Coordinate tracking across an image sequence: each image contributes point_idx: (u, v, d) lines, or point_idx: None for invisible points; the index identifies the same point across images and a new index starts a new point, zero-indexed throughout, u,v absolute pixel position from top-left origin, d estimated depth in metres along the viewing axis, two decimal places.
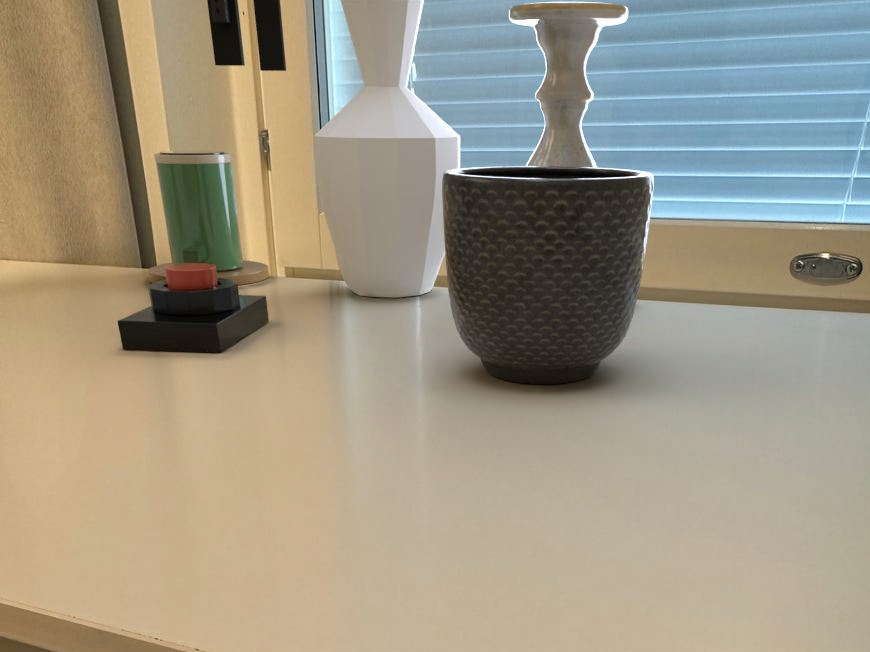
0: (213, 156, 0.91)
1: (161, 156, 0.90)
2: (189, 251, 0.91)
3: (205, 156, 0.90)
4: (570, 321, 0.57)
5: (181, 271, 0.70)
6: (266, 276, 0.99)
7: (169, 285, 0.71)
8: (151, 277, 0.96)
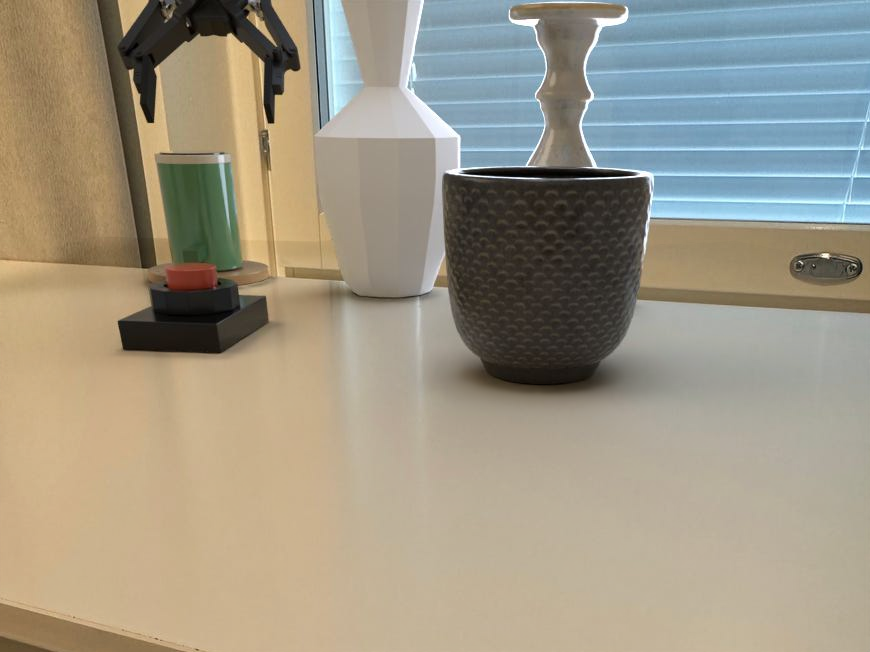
0: (213, 156, 0.91)
1: (161, 156, 0.90)
2: (189, 251, 0.91)
3: (205, 156, 0.90)
4: (570, 321, 0.57)
5: (181, 271, 0.70)
6: (266, 276, 0.99)
7: (169, 285, 0.71)
8: (151, 277, 0.96)
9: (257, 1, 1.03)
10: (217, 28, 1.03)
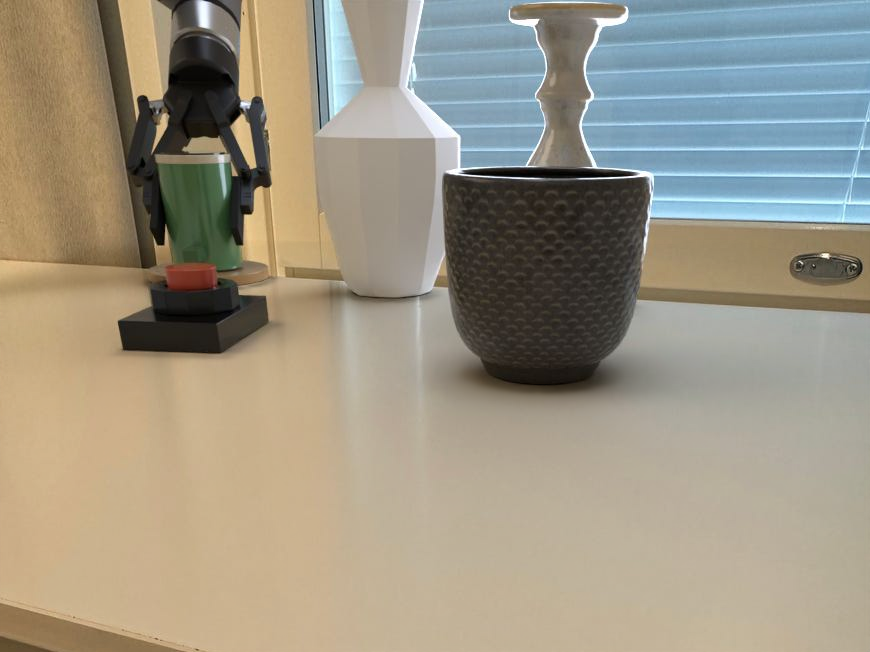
0: (213, 156, 0.91)
1: (161, 156, 0.90)
2: (189, 251, 0.91)
3: (205, 156, 0.90)
4: (570, 321, 0.57)
5: (181, 271, 0.70)
6: (266, 276, 0.99)
7: (169, 285, 0.71)
8: (151, 277, 0.96)
9: (246, 107, 0.97)
10: (208, 130, 0.97)
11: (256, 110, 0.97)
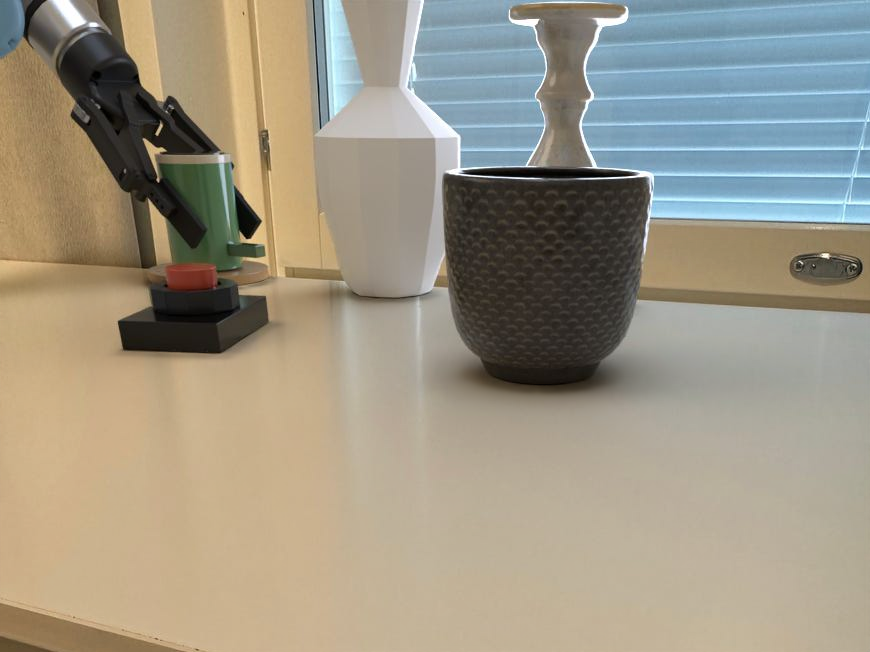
0: None
1: (197, 157, 0.90)
2: (259, 246, 0.94)
3: (229, 155, 0.93)
4: (570, 321, 0.57)
5: (181, 271, 0.70)
6: (266, 276, 0.99)
7: (169, 285, 0.71)
8: (151, 277, 0.96)
9: (171, 107, 0.97)
10: (149, 131, 0.95)
11: (180, 109, 0.98)
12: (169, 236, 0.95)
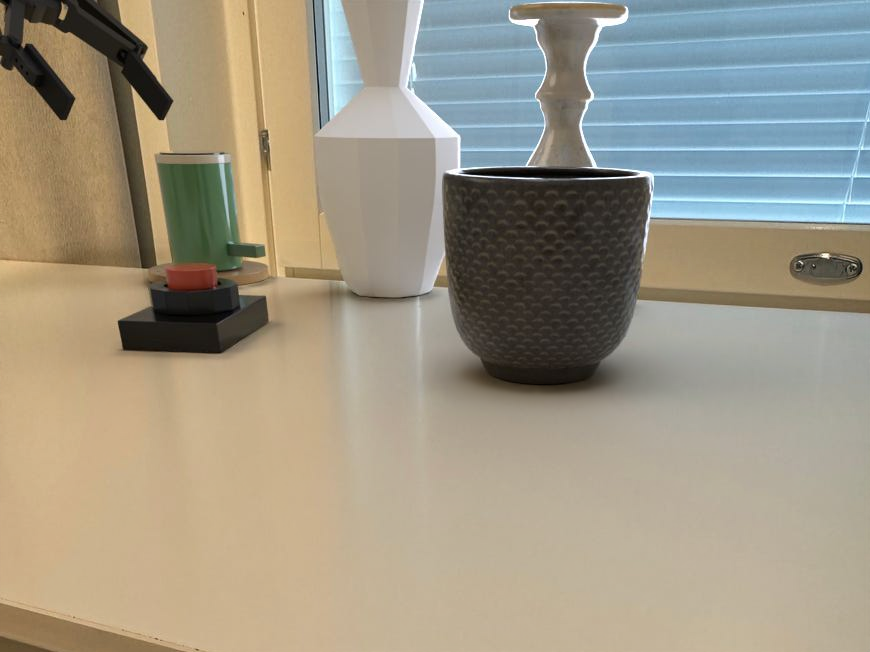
0: None
1: (197, 157, 0.90)
2: (259, 246, 0.94)
3: (229, 155, 0.93)
4: (570, 321, 0.57)
5: (181, 271, 0.70)
6: (266, 276, 0.99)
7: (169, 285, 0.71)
8: (151, 277, 0.96)
9: None
10: (49, 15, 0.93)
11: None
12: (169, 236, 0.95)
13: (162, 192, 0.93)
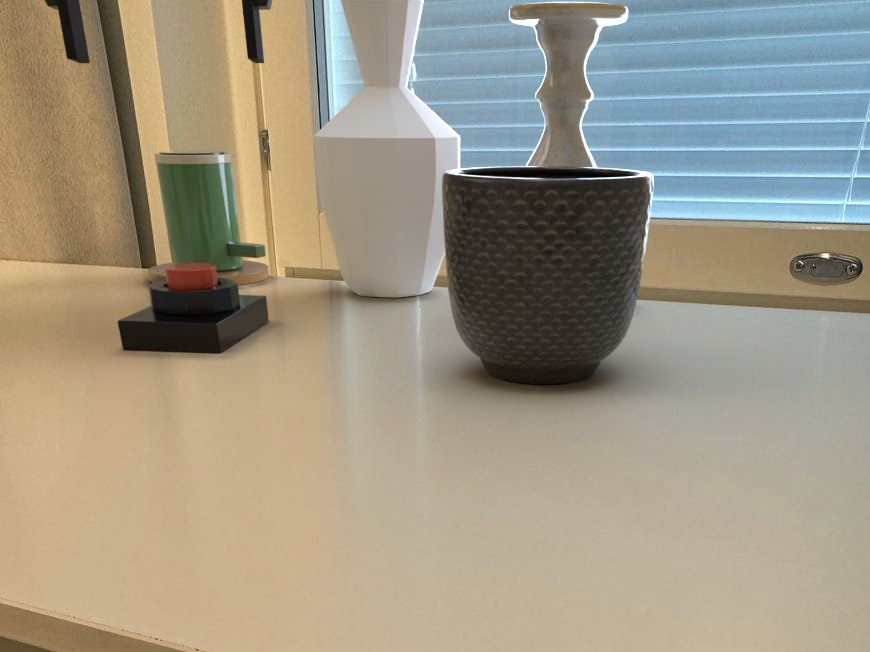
0: None
1: (197, 157, 0.90)
2: (259, 246, 0.94)
3: (229, 155, 0.93)
4: (570, 321, 0.57)
5: (181, 271, 0.70)
6: (266, 276, 0.99)
7: (169, 285, 0.71)
8: (151, 277, 0.96)
9: None
10: None
11: None
12: (169, 236, 0.95)
13: (162, 192, 0.93)
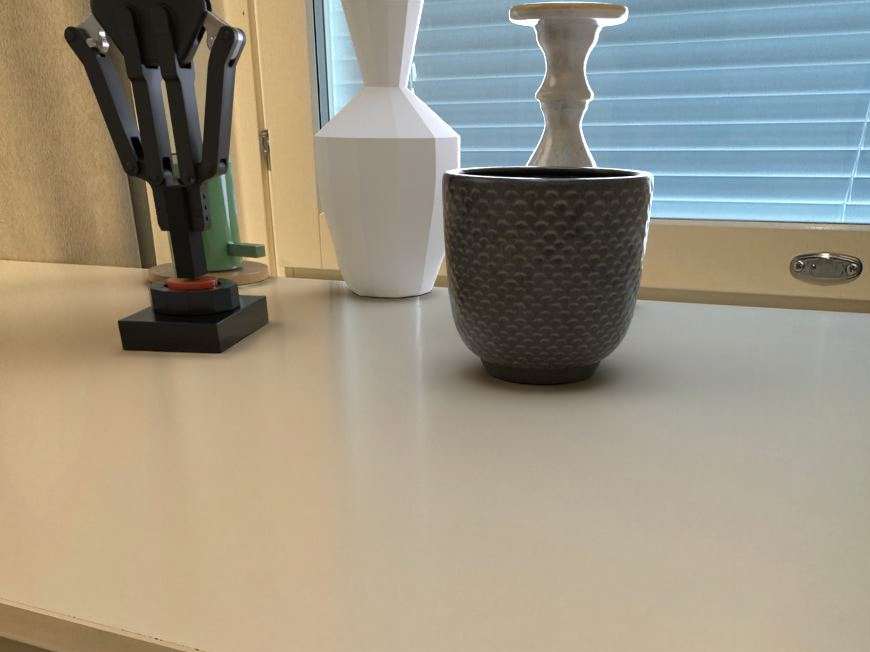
0: None
1: None
2: (259, 246, 0.94)
3: (229, 155, 0.93)
4: (570, 321, 0.57)
5: (183, 283, 0.70)
6: (266, 276, 0.99)
7: None
8: (151, 277, 0.96)
9: (208, 42, 0.62)
10: None
11: (221, 55, 0.63)
12: (169, 236, 0.95)
13: None
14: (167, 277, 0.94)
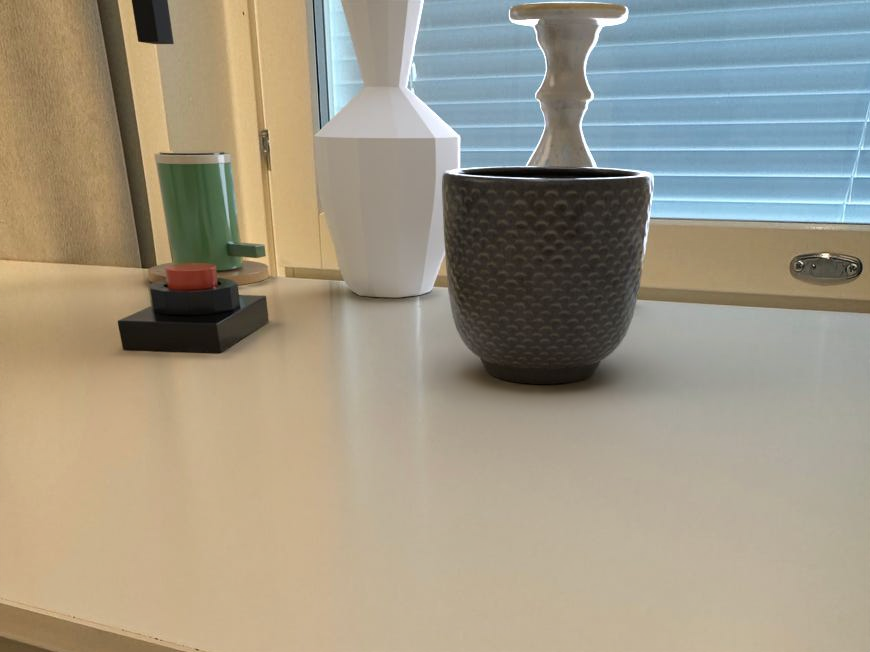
0: None
1: (197, 157, 0.90)
2: (259, 246, 0.94)
3: (229, 155, 0.93)
4: (570, 321, 0.57)
5: (181, 271, 0.70)
6: (266, 276, 0.99)
7: (169, 285, 0.71)
8: (151, 277, 0.96)
9: None
10: None
11: None
12: (169, 236, 0.95)
13: (162, 192, 0.93)
14: None
